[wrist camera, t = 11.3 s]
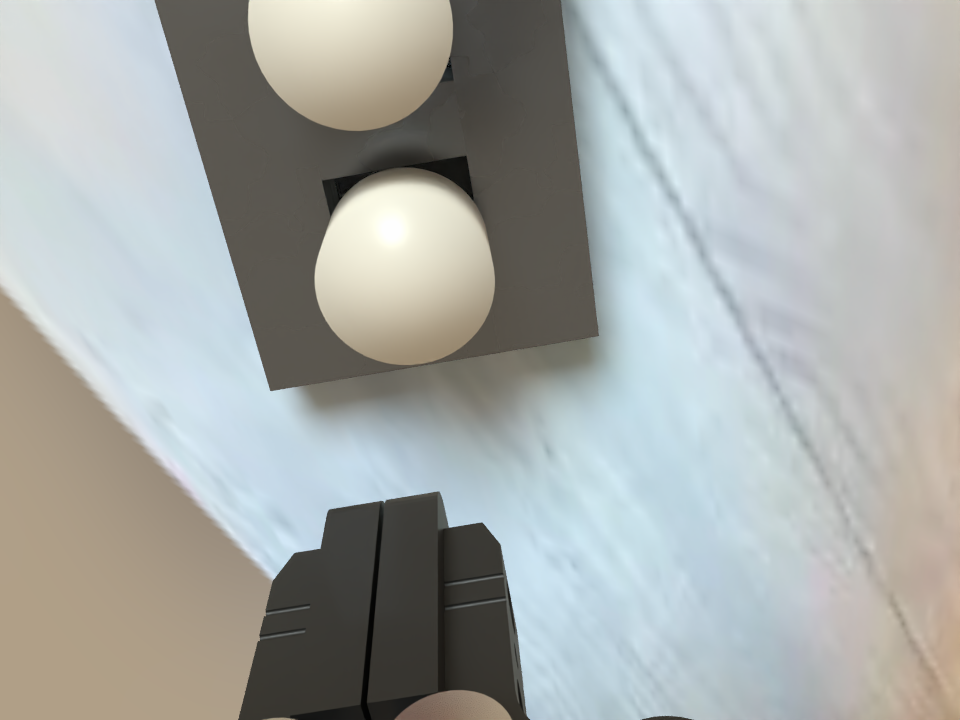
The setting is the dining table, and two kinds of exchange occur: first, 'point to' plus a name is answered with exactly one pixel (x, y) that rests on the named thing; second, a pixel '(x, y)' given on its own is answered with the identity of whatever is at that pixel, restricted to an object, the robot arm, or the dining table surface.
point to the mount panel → (412, 140)
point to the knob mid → (352, 56)
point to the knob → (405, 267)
